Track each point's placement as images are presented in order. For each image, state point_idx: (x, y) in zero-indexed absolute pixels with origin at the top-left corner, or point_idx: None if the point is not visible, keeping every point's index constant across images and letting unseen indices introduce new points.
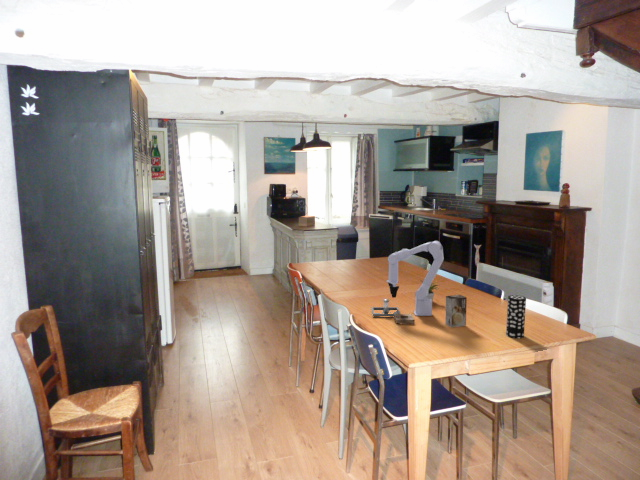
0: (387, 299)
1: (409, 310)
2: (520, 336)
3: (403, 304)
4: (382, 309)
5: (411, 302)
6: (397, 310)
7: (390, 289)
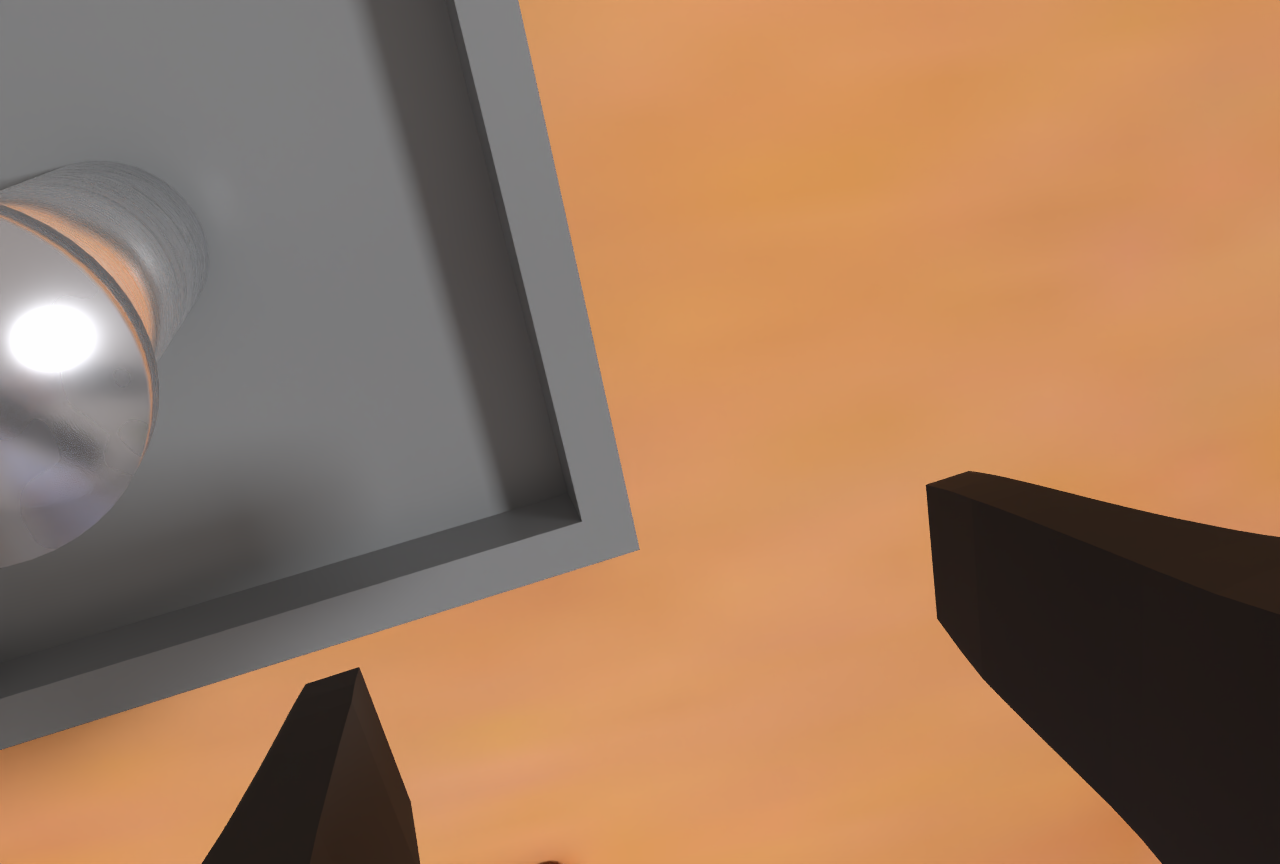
0: (70, 453)
1: (672, 749)
2: None
3: None
4: (468, 78)
5: None
6: (308, 601)
7: (1103, 573)
